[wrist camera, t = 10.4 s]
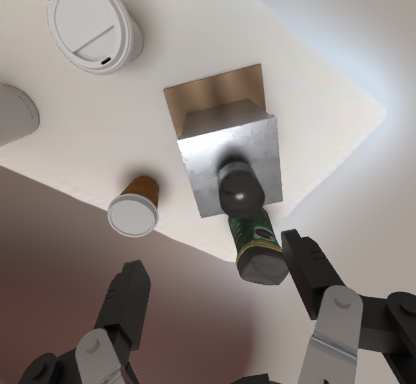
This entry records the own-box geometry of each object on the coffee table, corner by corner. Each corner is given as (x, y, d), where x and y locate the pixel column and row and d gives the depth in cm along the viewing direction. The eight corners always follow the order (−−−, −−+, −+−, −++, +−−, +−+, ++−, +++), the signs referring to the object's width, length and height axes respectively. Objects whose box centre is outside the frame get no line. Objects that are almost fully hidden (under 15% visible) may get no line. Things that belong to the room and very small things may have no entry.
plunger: (208, 168, 45) (213, 236, 28) (197, 126, 41) (195, 175, 23) (250, 159, 44) (283, 222, 27) (244, 115, 40) (277, 156, 23)
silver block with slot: (204, 181, 51) (205, 232, 36) (185, 112, 44) (177, 140, 29) (258, 169, 50) (284, 216, 35) (249, 96, 43) (276, 116, 28)
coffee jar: (223, 223, 59) (232, 285, 43) (236, 198, 55) (251, 255, 39) (257, 232, 61) (278, 295, 45) (271, 209, 57) (299, 268, 41)
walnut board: (194, 189, 53) (194, 191, 53) (163, 89, 43) (163, 89, 42) (271, 172, 52) (272, 174, 51) (259, 64, 41) (261, 64, 40)
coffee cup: (104, 73, 41) (59, 79, 28) (85, 5, 36) (22, -26, 23) (157, 68, 41) (137, 72, 28) (145, -1, 36) (115, -35, 23)
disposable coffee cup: (161, 167, 50) (151, 195, 40) (168, 203, 55) (161, 237, 45) (119, 171, 51) (98, 200, 40) (129, 207, 55) (113, 241, 45)
